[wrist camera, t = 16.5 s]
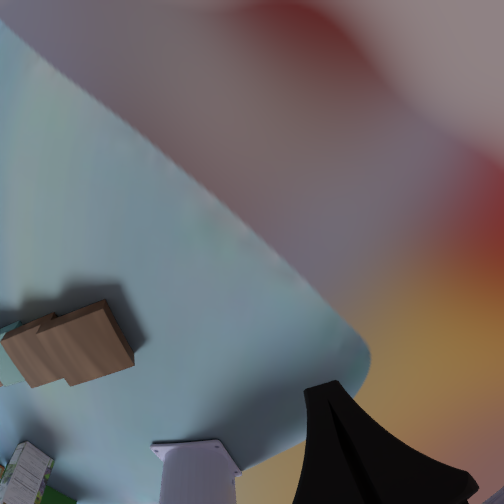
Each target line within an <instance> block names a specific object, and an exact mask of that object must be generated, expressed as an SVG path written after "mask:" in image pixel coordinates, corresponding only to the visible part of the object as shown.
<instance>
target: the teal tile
mask: <svg viewBox="0 0 504 504" xmlns="http://www.w3.org/2000/svg"><path fill="white" fill-rule="evenodd" d="M20 326H22V323H21V321H20V320H19V321H17V322H15V323H12V324H10V325H8V326H6V327H3V328H1V329H0V341H1V339H2V338H3V336H4V335H5V333H7V332H9V331H11V330H13V329H16V328H18V327H20ZM0 381H1V382H2V384H3V385H4V386H5V387H6V386H9V385H12V384H16V383H19V382H22V381H25V379H24V377H23V376H22V375H21V373H20V372H19V370H18V369H17V368H16V366H15V365H14V363H13V362H12V360H11V359H10V357H9V356H8V354H7V353H6V351H5V350H4V348H3V346H2V345H1V343H0Z"/></svg>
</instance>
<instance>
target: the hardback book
mask: <svg viewBox="0 0 504 504" xmlns="http://www.w3.org/2000/svg"><path fill="white" fill-rule="evenodd" d="M7 466H8V464H7V465H6V468H5V470H4V472H3V475H2V477H1V480H2V478H3V476H4V473H5V471H6V469H7ZM1 480H0V483H1ZM76 503H77V501H75V500H73V499H71V498H69V497H67V496H66V495H64V494H62V493H60V492H58V491H56V490H55V489H53V488H51V487H50V486H48V485H46V487H45V490H44V493H43V496H42V499H41V502H40V504H76Z"/></svg>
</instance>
